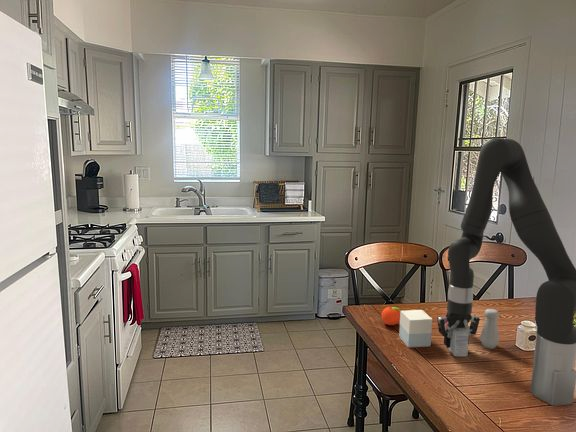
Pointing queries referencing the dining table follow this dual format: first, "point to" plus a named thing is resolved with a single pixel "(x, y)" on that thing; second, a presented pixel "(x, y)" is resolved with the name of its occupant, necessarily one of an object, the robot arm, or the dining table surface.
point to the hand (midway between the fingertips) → (456, 345)
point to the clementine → (391, 315)
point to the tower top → (415, 321)
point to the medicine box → (459, 342)
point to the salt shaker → (490, 329)
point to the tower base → (415, 338)
